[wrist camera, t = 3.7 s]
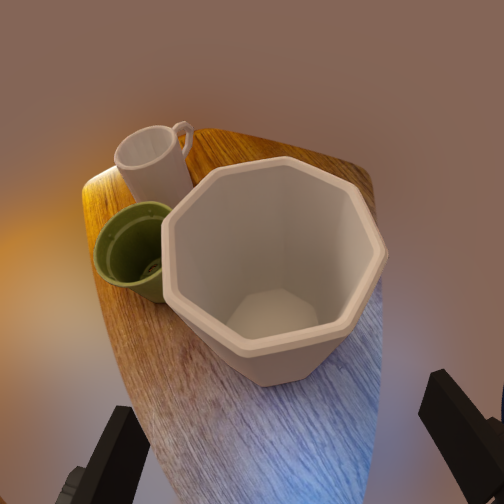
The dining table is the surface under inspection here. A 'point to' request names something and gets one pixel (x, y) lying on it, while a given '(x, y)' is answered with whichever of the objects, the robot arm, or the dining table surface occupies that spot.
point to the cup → (271, 265)
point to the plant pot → (133, 249)
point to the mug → (156, 164)
